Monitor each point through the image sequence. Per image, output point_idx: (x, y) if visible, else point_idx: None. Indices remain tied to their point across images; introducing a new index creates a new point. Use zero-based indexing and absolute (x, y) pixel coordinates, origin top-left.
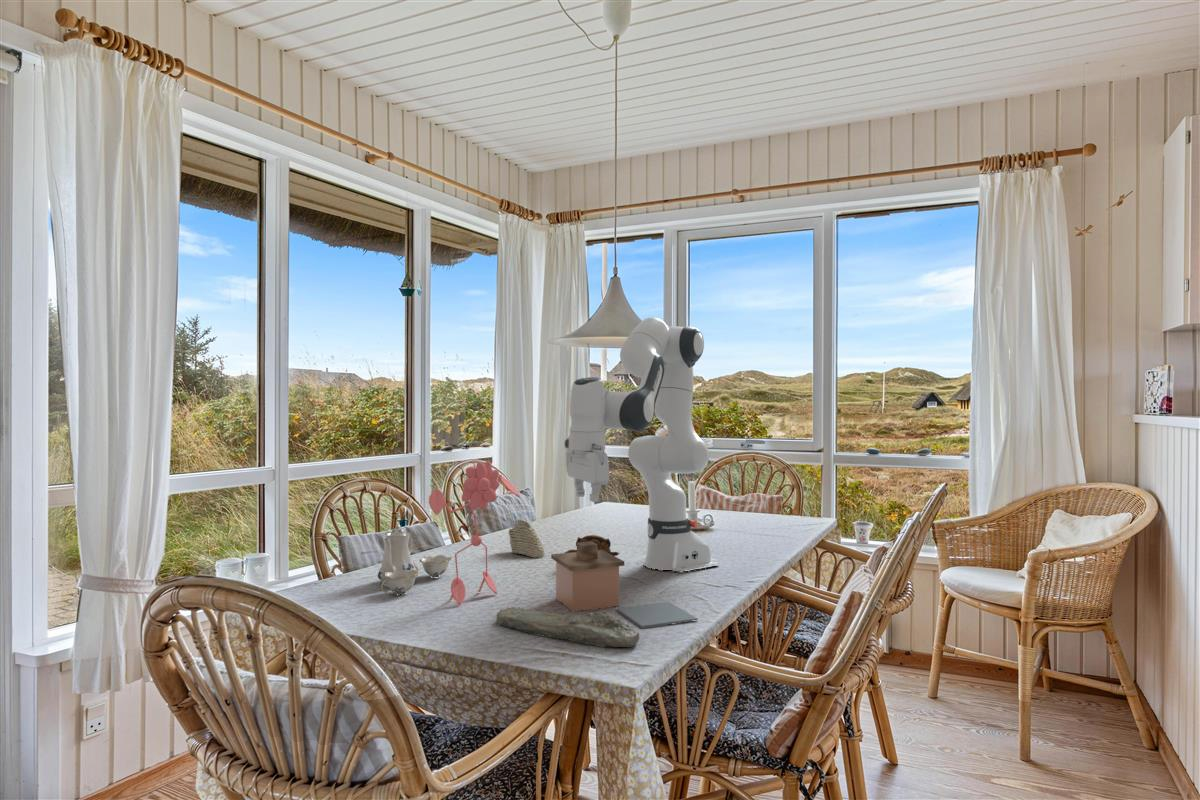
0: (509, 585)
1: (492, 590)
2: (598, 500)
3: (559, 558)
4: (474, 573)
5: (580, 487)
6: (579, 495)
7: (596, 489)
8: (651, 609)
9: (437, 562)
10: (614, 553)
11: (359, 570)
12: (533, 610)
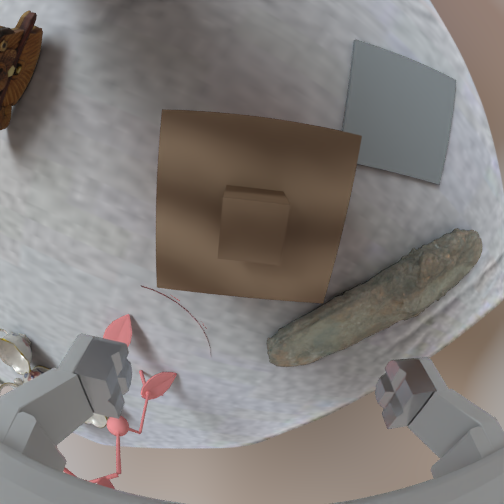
0: (75, 272)
1: (130, 327)
2: (429, 359)
3: (218, 290)
4: (7, 290)
5: (73, 402)
6: (130, 377)
7: (466, 432)
8: (383, 104)
9: (3, 342)
10: (31, 22)
11: (6, 382)
12: (308, 328)
